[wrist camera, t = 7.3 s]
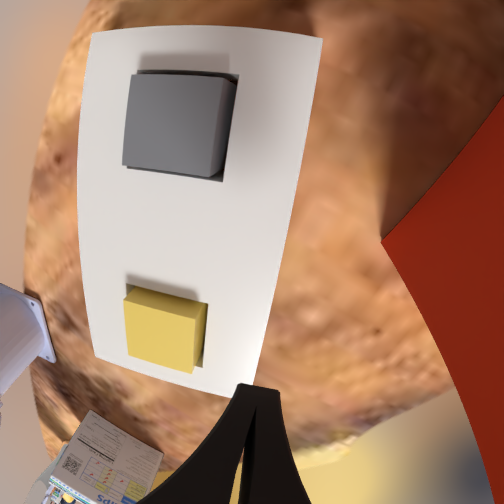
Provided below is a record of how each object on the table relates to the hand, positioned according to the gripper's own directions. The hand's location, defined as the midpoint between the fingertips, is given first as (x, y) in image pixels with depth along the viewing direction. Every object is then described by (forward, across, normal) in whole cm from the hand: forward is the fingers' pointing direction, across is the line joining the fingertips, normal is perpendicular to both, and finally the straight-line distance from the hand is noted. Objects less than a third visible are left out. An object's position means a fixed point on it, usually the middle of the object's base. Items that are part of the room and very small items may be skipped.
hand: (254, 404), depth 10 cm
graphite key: (+9, +6, -8) cm, 14 cm away
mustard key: (+9, +6, +4) cm, 12 cm away
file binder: (+11, -13, -9) cm, 19 cm away
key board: (+10, +6, -2) cm, 12 cm away
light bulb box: (+11, +14, +28) cm, 33 cm away
